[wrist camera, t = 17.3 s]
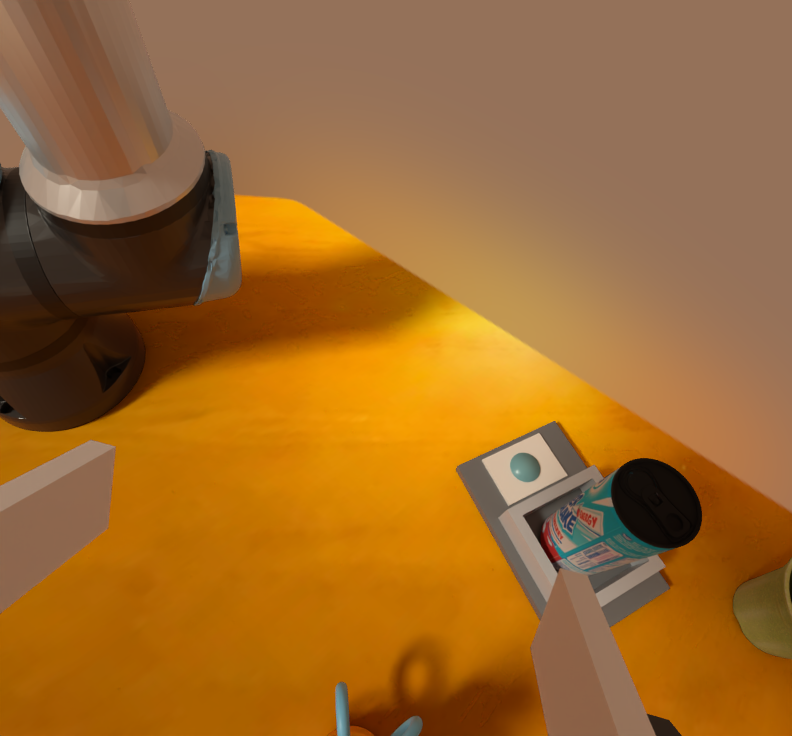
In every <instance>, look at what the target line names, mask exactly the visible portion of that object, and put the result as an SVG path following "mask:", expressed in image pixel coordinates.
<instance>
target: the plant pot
mask: <svg viewBox="0 0 792 736" xmlns="http://www.w3.org/2000/svg"><path fill="white" fill-rule="evenodd" d="M733 610H734V614H735V616H736V618H737V619H738V621H739V624H740V626H741V629H742V632H743V634H744V635H745V636H746V637H747V639H748V640H749V641H750V642H751V643H752V644H753V645H755V646H756V647H757V648H759V649H760V650H762V651H764V652H766V653H768V654H771V655H774V656H778V657H783V658H788V659H792V558H791V559H790V560H789V562H788V563H787V564H786V565H785V566H784V567H782V568H779V569H777V570H774V571H772V572H769V573H767V574H764V575H762V576H759V577H757V578H754V579H752V580H749V581H747V582H745V583H743V584H742V585H740V586H739V587H738V589H737V590H736V592H735V594H734V598H733Z"/></svg>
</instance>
